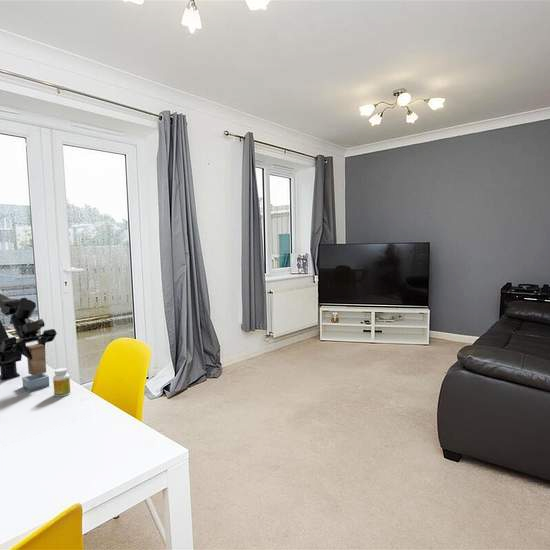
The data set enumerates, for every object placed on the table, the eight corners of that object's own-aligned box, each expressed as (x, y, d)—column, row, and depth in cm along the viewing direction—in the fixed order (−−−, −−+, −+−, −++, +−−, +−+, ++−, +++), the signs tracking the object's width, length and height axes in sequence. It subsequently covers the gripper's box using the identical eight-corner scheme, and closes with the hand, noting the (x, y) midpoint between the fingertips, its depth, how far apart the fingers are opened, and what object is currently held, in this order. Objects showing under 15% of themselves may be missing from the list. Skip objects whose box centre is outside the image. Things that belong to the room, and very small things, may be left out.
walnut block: (28, 373, 148) (26, 346, 147) (40, 370, 152) (38, 343, 151) (34, 375, 146) (32, 348, 145) (46, 372, 150) (44, 345, 148)
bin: (22, 386, 152) (22, 377, 151) (43, 381, 157) (42, 372, 157) (28, 391, 147) (28, 381, 147) (49, 385, 152) (48, 376, 152)
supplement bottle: (65, 397, 142) (63, 372, 140) (51, 397, 142) (49, 372, 141) (73, 391, 147) (71, 367, 146) (59, 391, 147) (57, 367, 146)
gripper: (1, 318, 141) (16, 352, 136) (53, 309, 156) (68, 339, 152) (-7, 335, 146) (8, 368, 141) (44, 325, 162) (59, 355, 157)
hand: (38, 357), depth 148 cm, fingers closed on walnut block, 4 cm apart
